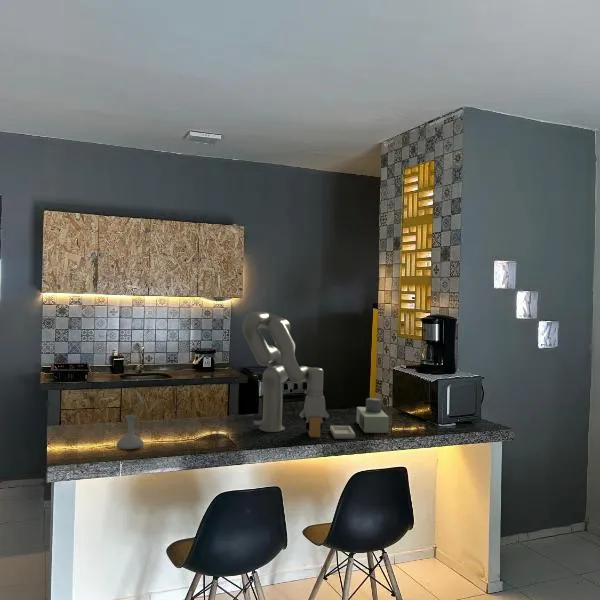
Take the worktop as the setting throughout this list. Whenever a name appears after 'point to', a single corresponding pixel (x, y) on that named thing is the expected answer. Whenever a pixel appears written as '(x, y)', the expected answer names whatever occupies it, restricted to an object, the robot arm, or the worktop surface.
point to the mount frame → (342, 432)
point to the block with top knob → (372, 417)
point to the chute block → (314, 426)
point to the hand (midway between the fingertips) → (313, 430)
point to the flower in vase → (131, 429)
